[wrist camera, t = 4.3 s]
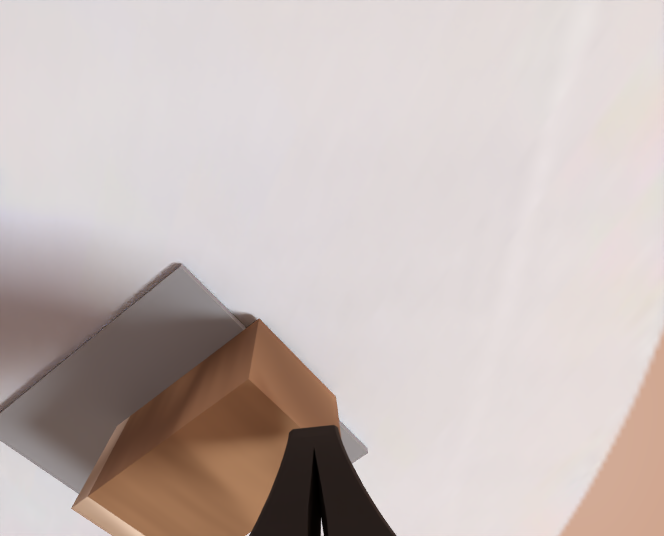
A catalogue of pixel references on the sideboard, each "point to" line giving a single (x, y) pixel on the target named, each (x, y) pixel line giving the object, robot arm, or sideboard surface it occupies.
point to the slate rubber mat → (121, 378)
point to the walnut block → (207, 444)
